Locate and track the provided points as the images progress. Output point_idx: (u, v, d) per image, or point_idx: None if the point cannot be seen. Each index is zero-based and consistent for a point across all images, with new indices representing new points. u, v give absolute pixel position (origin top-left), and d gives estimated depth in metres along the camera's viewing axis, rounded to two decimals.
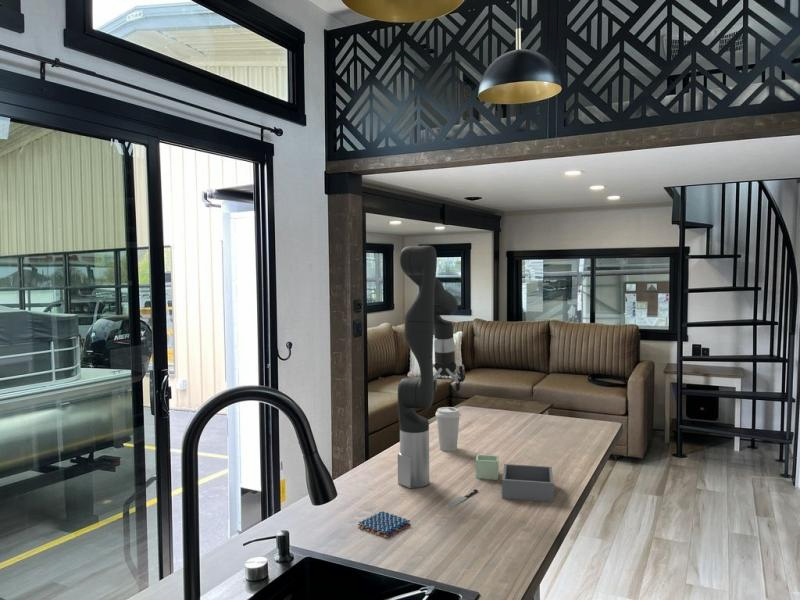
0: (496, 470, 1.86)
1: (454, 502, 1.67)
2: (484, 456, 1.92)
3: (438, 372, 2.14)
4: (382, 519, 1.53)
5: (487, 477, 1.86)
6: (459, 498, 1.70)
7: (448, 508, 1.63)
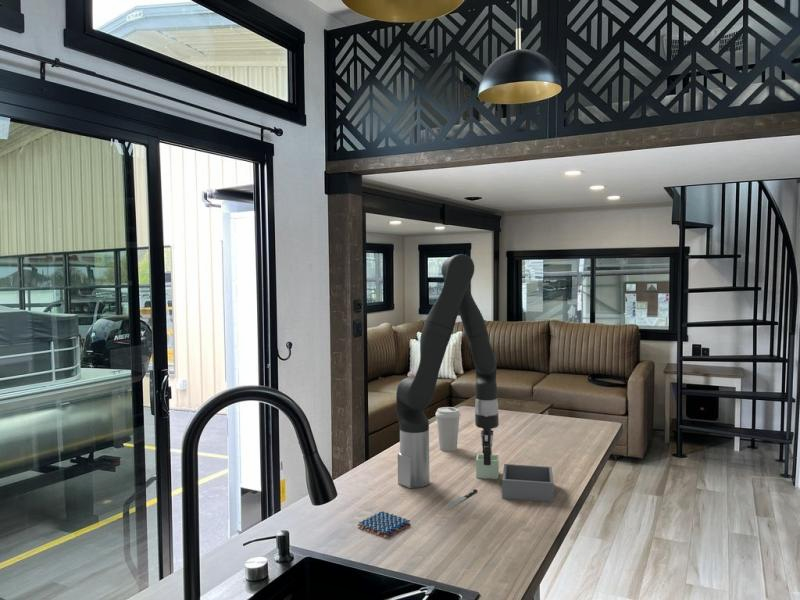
0: (496, 469, 1.86)
1: (454, 502, 1.67)
2: None
3: None
4: (382, 519, 1.53)
5: (487, 476, 1.87)
6: (458, 498, 1.70)
7: (448, 508, 1.63)
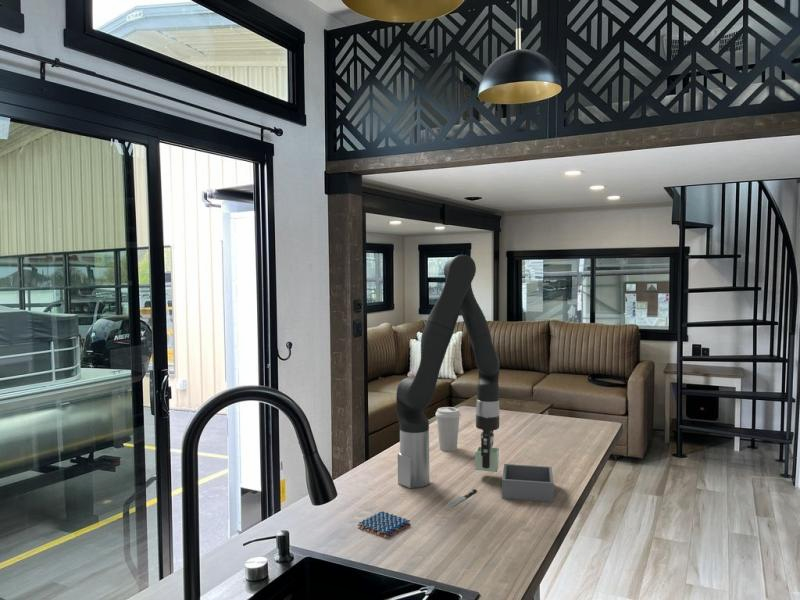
0: (496, 462, 1.85)
1: (453, 502, 1.67)
2: None
3: None
4: (382, 519, 1.53)
5: (486, 469, 1.85)
6: (458, 498, 1.70)
7: (447, 508, 1.64)
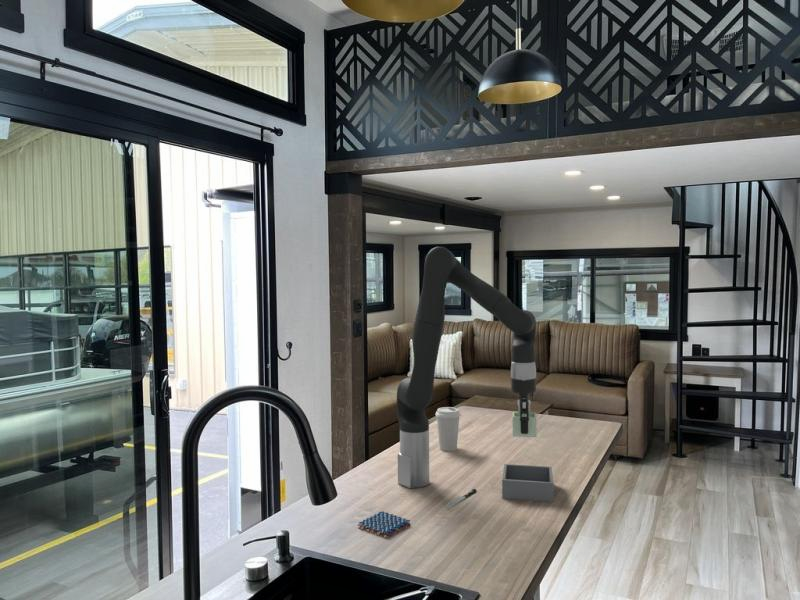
0: (535, 427, 1.74)
1: (453, 502, 1.68)
2: None
3: None
4: (382, 519, 1.53)
5: (525, 435, 1.74)
6: (458, 498, 1.70)
7: (447, 508, 1.64)
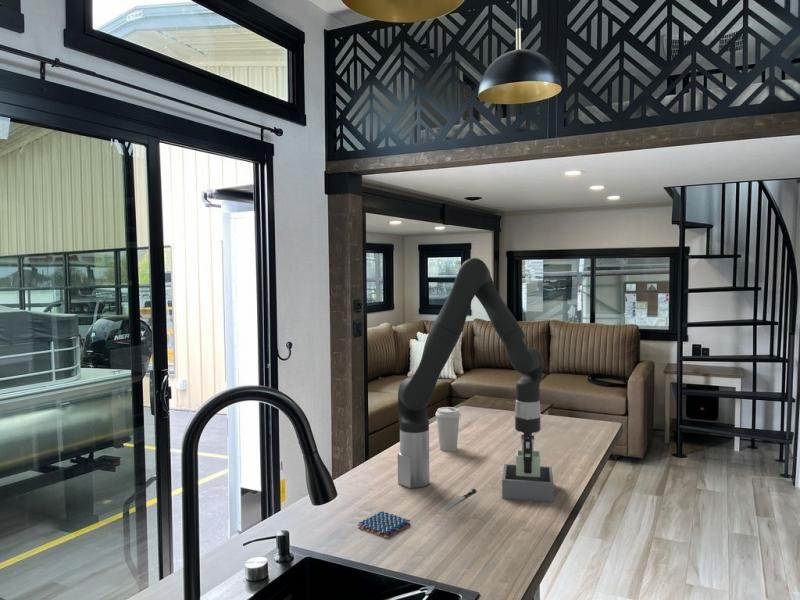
0: (538, 467, 1.72)
1: (453, 502, 1.68)
2: None
3: None
4: (382, 519, 1.53)
5: (528, 474, 1.73)
6: (457, 498, 1.70)
7: (447, 508, 1.64)
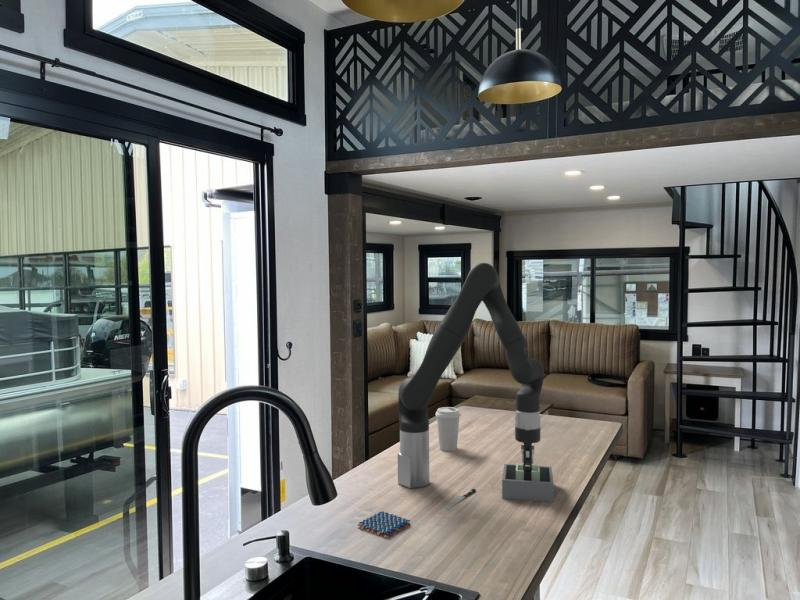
0: None
1: (452, 502, 1.68)
2: None
3: None
4: (382, 519, 1.53)
5: None
6: (457, 498, 1.70)
7: (447, 508, 1.64)
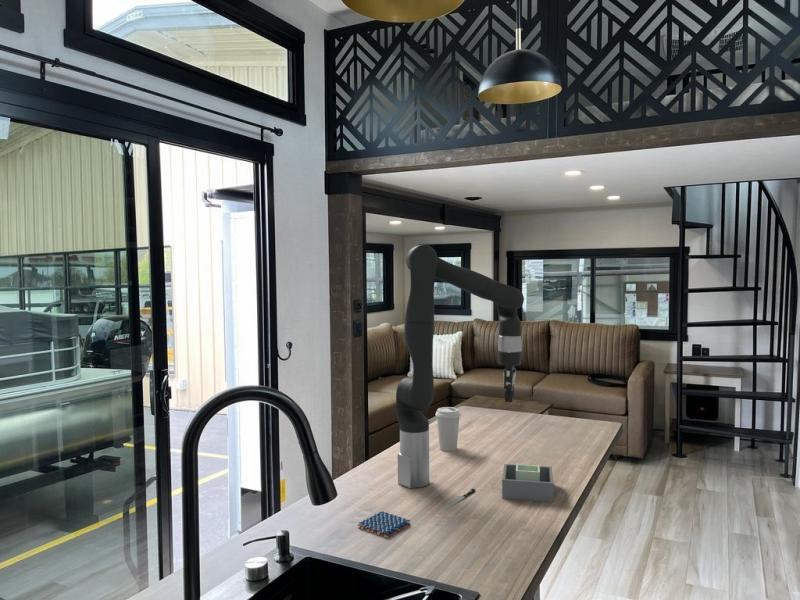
0: None
1: (452, 501, 1.68)
2: (524, 466, 1.78)
3: None
4: (382, 519, 1.53)
5: None
6: (457, 498, 1.70)
7: (446, 507, 1.64)
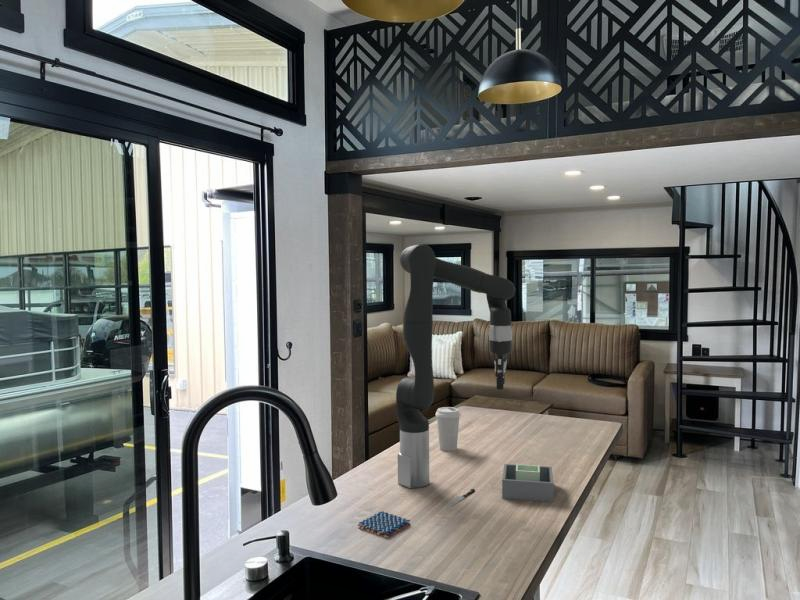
0: None
1: (452, 502, 1.68)
2: (524, 466, 1.78)
3: None
4: (382, 519, 1.53)
5: None
6: (456, 498, 1.70)
7: (446, 508, 1.64)
